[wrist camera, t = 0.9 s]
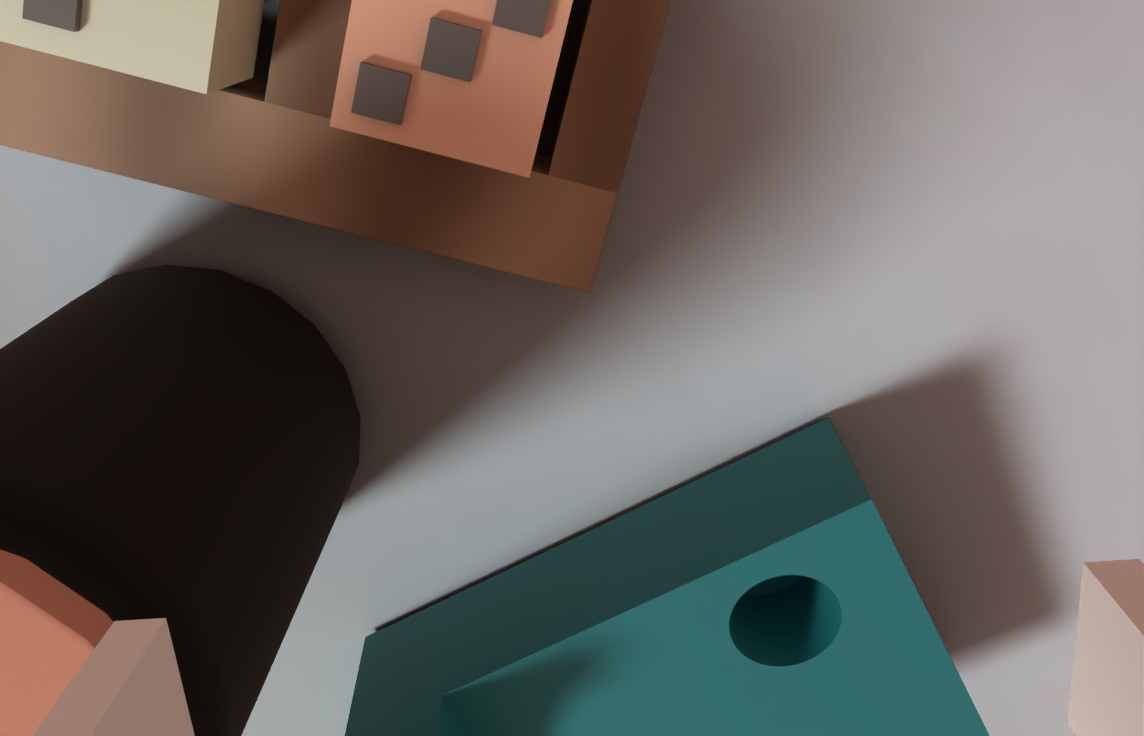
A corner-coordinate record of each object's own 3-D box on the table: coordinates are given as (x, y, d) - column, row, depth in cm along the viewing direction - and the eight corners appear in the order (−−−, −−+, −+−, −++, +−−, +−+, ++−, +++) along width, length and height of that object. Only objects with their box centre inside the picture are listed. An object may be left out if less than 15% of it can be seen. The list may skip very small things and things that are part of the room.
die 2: (360, 105, 30) (326, 128, 26) (395, -84, 29) (365, -91, 25) (535, 151, 31) (529, 180, 27) (580, -33, 29) (580, -32, 25)
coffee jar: (32, 511, 38) (-410, 956, 21) (62, 216, 34) (-444, 468, 17) (336, 580, 39) (148, 1061, 22) (397, 301, 35) (227, 618, 18)
